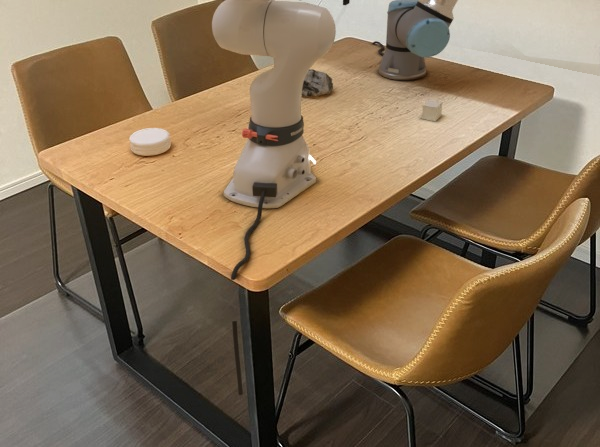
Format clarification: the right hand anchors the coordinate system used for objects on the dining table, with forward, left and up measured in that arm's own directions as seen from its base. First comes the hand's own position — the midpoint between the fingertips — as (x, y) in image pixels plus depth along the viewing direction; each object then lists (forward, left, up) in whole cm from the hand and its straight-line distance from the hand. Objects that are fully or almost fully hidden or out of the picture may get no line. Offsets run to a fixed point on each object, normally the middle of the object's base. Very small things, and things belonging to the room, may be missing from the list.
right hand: (323, 1), depth 172 cm
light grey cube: (+20, +28, -27) cm, 44 cm away
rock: (-5, -4, -27) cm, 28 cm away
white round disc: (+32, -47, -27) cm, 63 cm away
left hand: (+9, -26, +6) cm, 28 cm away
